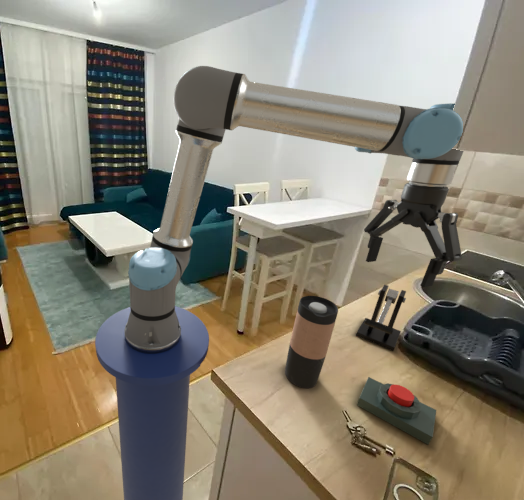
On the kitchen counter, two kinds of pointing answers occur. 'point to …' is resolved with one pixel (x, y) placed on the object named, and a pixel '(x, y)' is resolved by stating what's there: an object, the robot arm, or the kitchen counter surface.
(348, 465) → the kitchen counter surface
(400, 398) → the button
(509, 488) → the kitchen counter surface
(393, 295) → the lever
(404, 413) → the button box
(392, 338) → the bracket
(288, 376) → the travel mug
